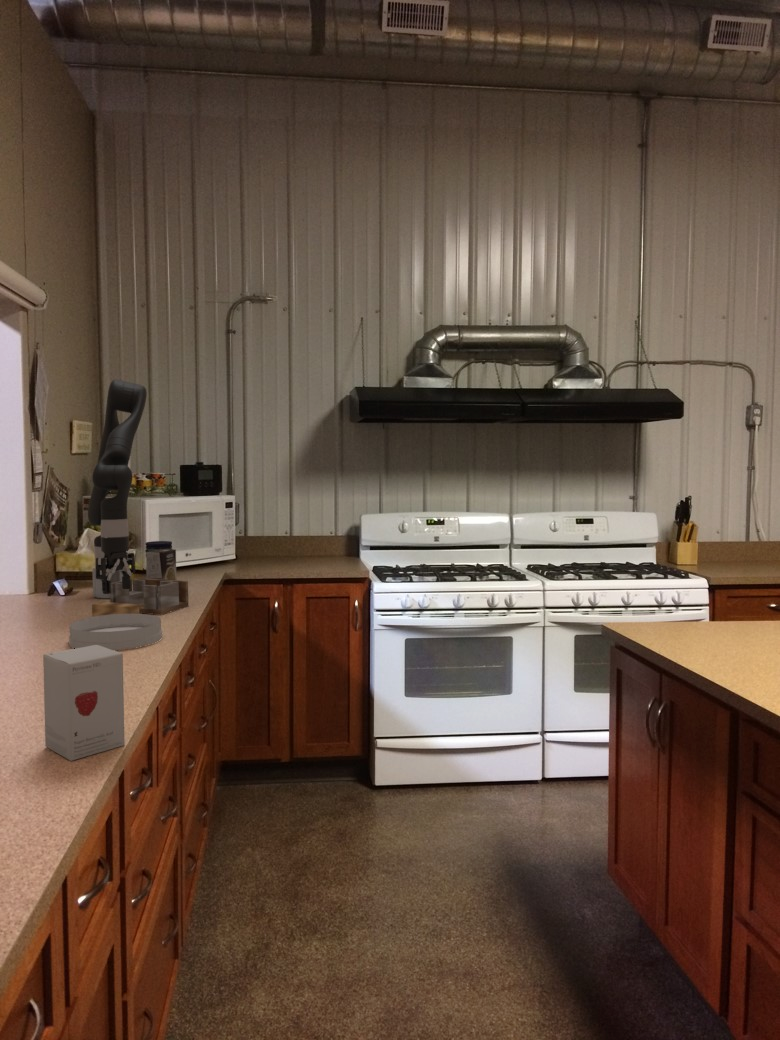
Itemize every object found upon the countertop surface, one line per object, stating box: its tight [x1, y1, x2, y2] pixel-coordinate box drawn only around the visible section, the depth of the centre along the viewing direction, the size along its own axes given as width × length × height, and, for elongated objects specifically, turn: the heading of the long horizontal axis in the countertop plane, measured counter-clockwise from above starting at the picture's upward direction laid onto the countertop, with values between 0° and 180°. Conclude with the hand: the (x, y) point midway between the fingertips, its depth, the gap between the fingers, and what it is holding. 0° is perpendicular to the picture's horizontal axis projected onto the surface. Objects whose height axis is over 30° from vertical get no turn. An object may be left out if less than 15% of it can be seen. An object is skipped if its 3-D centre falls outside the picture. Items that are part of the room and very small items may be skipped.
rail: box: [91, 601, 140, 617], centre depth 213 cm, size 13×4×4 cm, turn 72°
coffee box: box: [145, 548, 177, 580], centre depth 245 cm, size 9×6×16 cm
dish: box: [68, 613, 163, 651], centre depth 187 cm, size 22×22×5 cm
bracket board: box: [109, 578, 189, 615], centre depth 228 cm, size 18×14×8 cm
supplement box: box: [42, 645, 126, 762], centre depth 116 cm, size 9×9×15 cm
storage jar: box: [144, 540, 173, 557], centre depth 282 cm, size 10×10×15 cm
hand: (116, 591), depth 213 cm, fingers open, 8 cm apart
